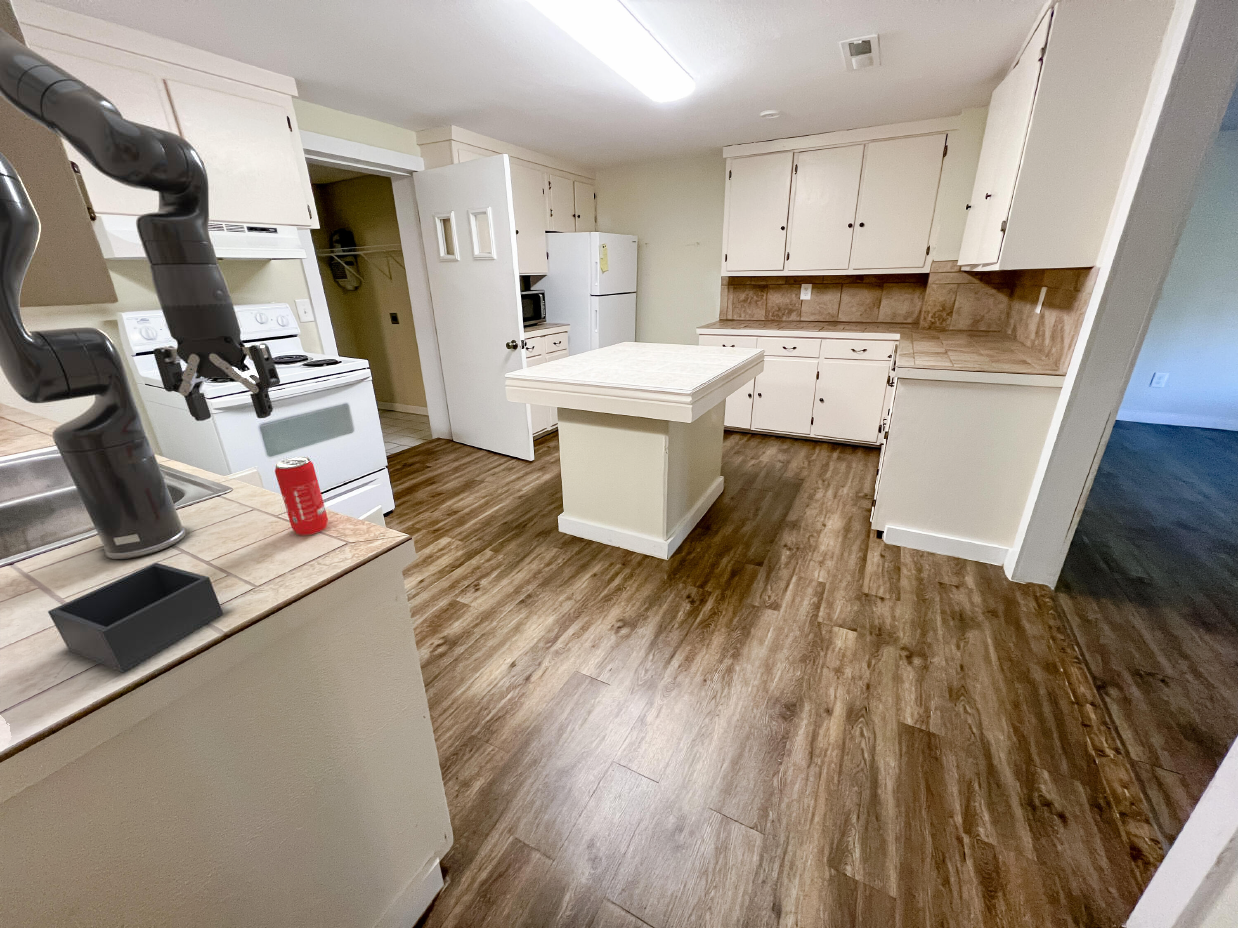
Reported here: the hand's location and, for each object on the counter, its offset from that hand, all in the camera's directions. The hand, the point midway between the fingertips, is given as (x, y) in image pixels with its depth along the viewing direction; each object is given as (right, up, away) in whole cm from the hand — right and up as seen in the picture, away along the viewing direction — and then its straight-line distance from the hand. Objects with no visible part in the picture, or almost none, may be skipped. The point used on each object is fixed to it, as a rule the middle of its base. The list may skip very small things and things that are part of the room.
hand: (234, 418), depth 71 cm
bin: (0, -27, -13) cm, 30 cm away
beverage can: (+5, -18, +10) cm, 21 cm away
